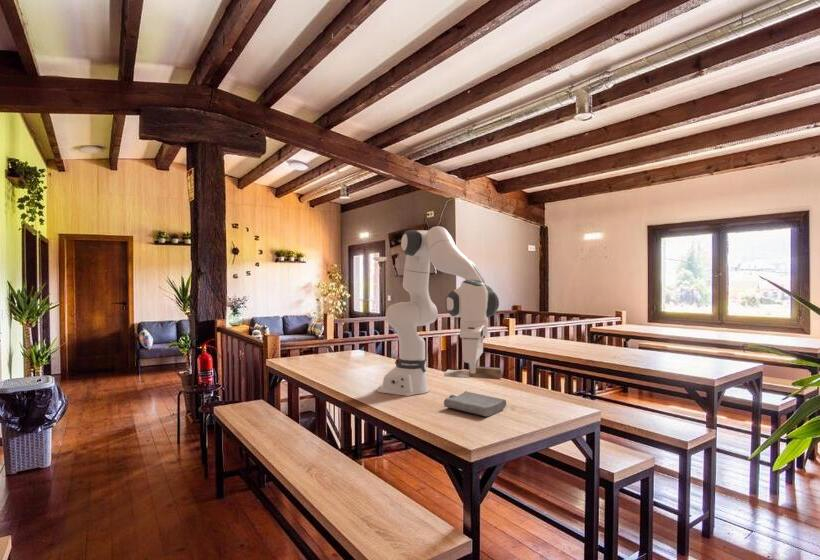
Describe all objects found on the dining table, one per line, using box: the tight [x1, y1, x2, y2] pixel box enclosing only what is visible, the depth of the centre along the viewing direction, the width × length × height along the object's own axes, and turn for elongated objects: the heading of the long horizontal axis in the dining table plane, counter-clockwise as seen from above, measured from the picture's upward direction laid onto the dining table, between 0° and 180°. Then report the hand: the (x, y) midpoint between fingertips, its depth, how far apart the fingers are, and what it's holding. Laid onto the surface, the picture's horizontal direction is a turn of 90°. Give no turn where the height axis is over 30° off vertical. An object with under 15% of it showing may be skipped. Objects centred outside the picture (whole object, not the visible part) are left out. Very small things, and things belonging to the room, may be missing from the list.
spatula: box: [443, 365, 502, 381], centre depth 150 cm, size 18×6×3 cm, turn 74°
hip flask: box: [443, 390, 507, 417], centre depth 174 cm, size 16×4×20 cm
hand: (474, 371), depth 150 cm, fingers closed on spatula, 2 cm apart
